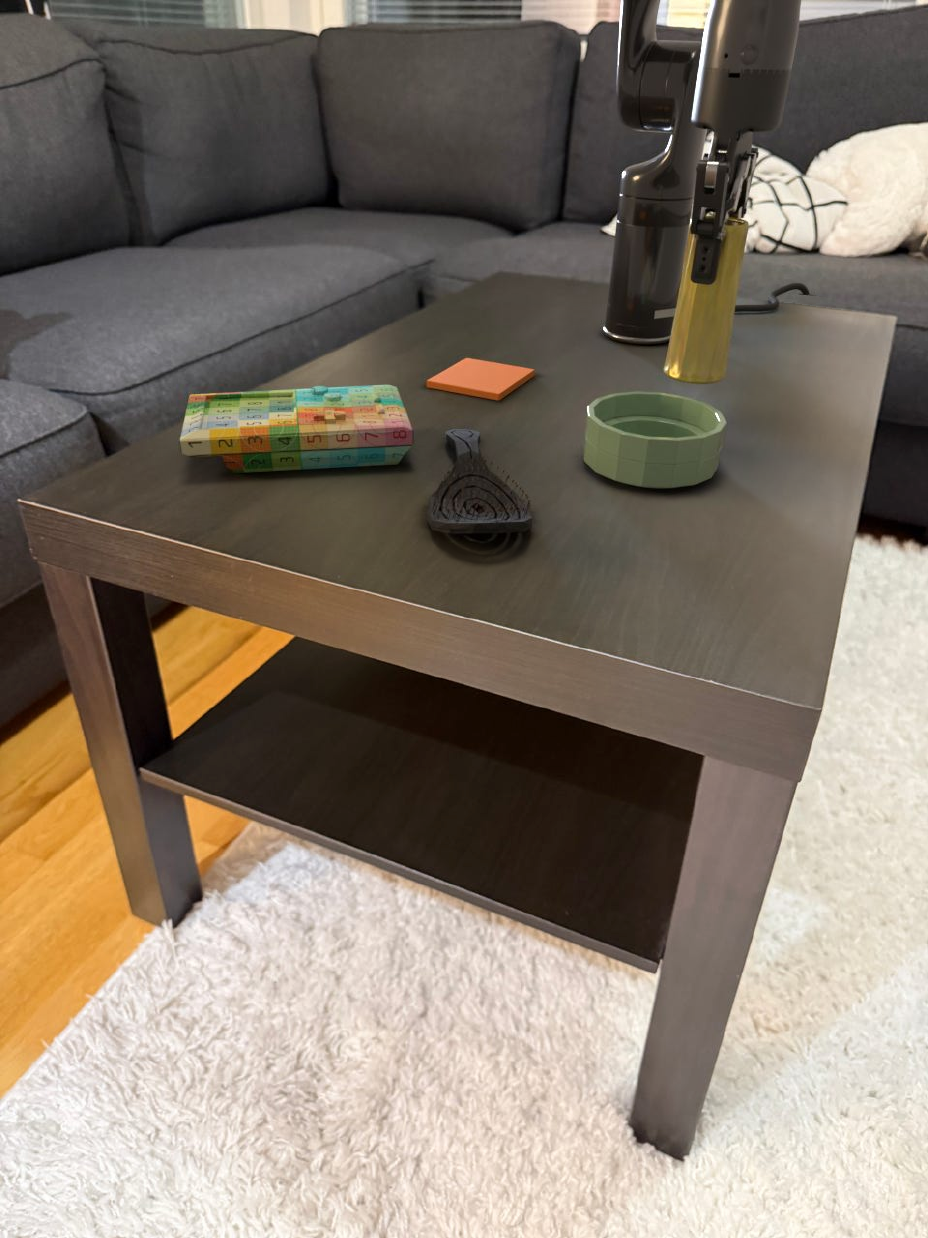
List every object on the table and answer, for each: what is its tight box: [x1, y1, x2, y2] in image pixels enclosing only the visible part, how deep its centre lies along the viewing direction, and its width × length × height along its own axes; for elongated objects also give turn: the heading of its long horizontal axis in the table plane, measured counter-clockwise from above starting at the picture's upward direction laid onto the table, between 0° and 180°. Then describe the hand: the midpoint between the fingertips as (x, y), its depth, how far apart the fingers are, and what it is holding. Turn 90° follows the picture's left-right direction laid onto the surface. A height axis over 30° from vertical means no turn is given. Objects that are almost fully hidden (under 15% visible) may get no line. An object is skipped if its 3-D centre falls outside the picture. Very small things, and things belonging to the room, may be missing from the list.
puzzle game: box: [178, 384, 414, 474], centre depth 81 cm, size 12×5×20 cm
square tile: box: [426, 357, 536, 402], centre depth 100 cm, size 10×9×1 cm
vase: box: [662, 215, 750, 385], centre depth 83 cm, size 6×6×14 cm
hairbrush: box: [426, 428, 533, 534], centre depth 75 cm, size 8×4×25 cm
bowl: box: [582, 390, 727, 489], centre depth 79 cm, size 12×12×5 cm
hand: (710, 275), depth 82 cm, fingers closed on vase, 5 cm apart
